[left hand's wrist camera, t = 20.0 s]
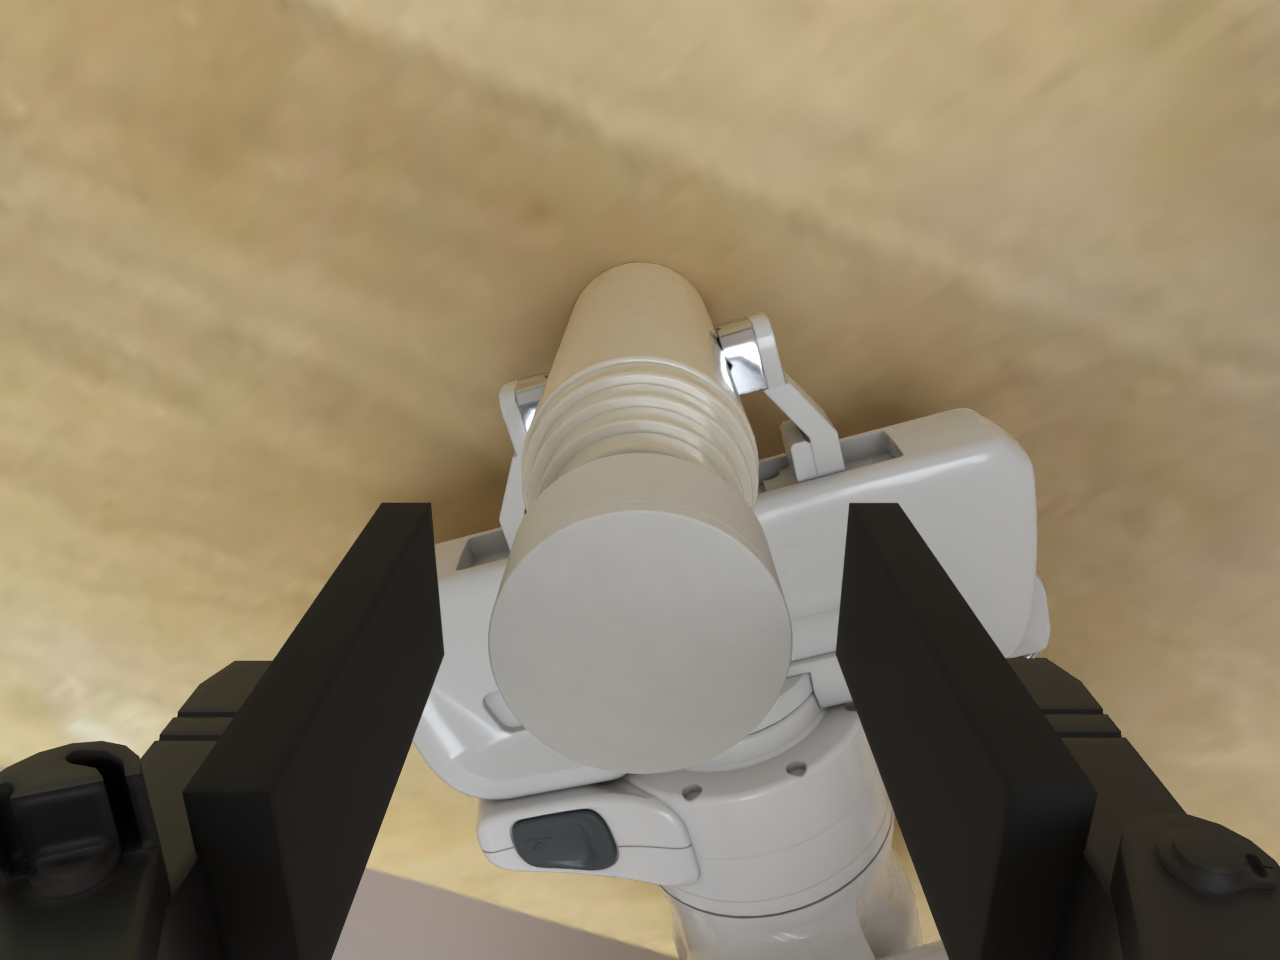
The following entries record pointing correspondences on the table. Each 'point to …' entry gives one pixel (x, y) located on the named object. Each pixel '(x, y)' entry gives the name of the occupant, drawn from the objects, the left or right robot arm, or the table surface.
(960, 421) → the right robot arm
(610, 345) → the bottle
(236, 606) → the table surface
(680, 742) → the cap
